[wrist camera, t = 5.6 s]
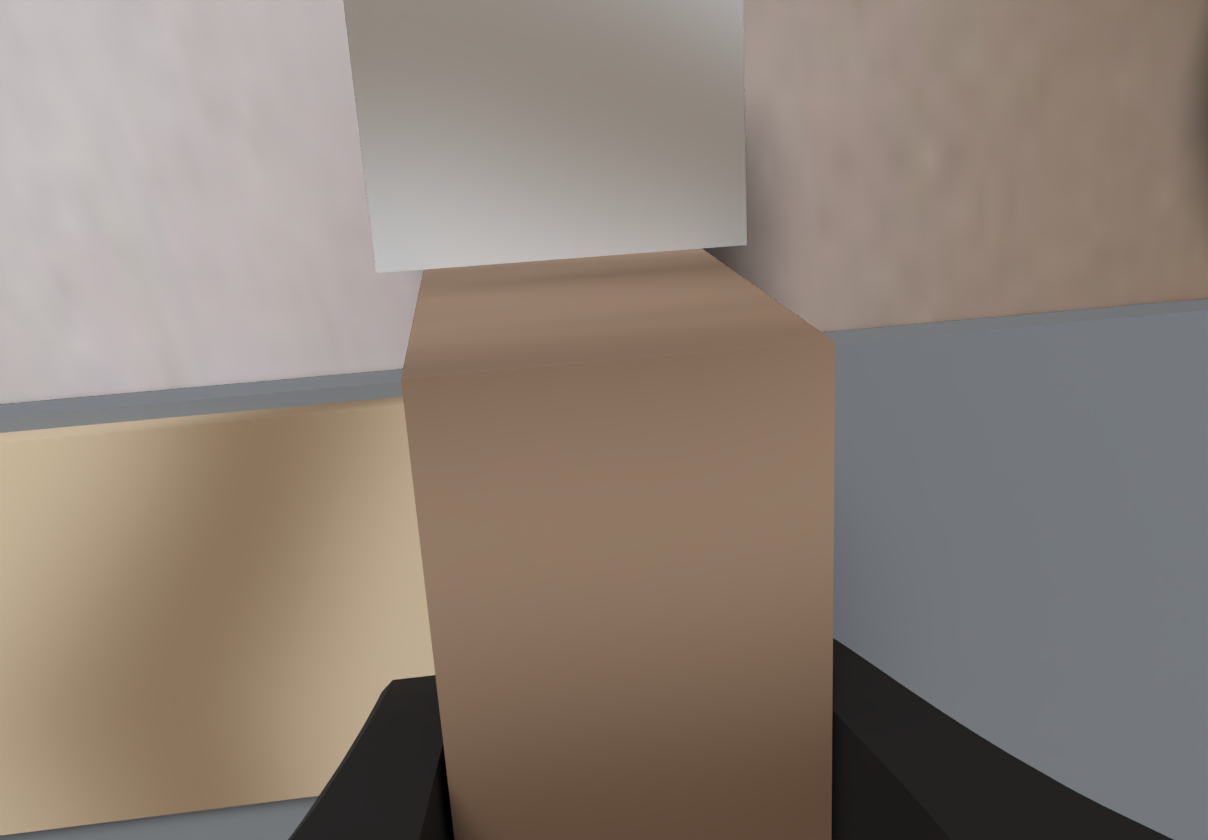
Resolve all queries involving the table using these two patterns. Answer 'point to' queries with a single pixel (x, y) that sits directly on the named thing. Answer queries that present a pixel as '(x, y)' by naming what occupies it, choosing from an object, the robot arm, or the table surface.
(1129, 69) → the table surface
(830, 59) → the table surface
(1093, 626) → the mat
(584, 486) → the brown rectangular block
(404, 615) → the pad
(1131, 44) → the table surface
